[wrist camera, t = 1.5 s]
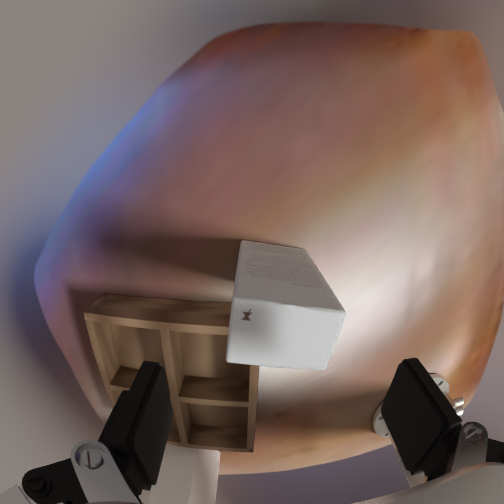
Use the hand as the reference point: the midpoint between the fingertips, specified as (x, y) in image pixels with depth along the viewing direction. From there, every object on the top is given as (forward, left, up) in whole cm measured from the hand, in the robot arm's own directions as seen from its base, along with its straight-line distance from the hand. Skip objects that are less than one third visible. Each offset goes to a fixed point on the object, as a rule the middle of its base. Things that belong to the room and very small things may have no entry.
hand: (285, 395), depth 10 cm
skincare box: (0, 0, -17) cm, 17 cm away
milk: (+9, +29, -17) cm, 34 cm away
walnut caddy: (+9, +13, -17) cm, 23 cm away
